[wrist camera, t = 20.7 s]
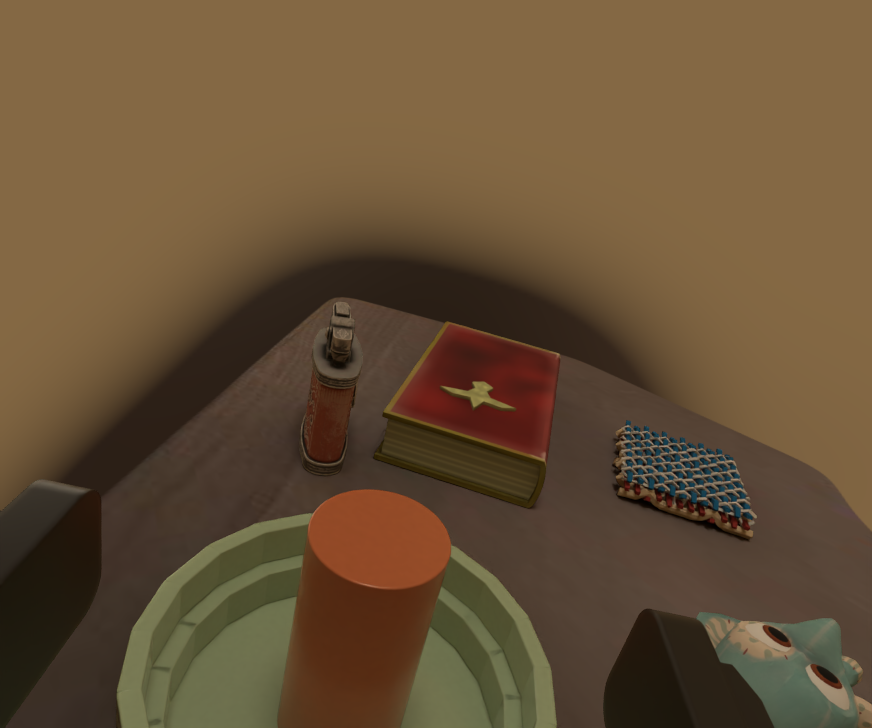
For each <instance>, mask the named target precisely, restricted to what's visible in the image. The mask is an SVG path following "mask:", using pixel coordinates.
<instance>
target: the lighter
mask: <svg viewBox="0 0 872 728" xmlns="http://www.w3.org/2000/svg"><path fill="white" fill-rule="evenodd" d="M354 329H355V319H351V313H350V307H349V306H348V304H347V303H344V302H337V303H336V304H334V306H333V312H332V316H331V320H330V325H329V327H327V328H322V329H321V330H320V331H319V333H318V334H317V336H316V338H315V341H314V345H313V351H312V368H313V371H312V378H311V384H310V391H309V398H308V404H307V411H306V414H305V416H304V418H303V422H302V427H301V432H300V439H299V443H300V455H301V459H302V463H303V466H304V468H305V469H306V470H308V471H309V472H311V473H314V474H317V475H333V474H336V473H338V472H339V471H340V470H341V467H342V464H343V461H344V458H345V453H346V448H347V438H348V433H347V427H348V421H349V416H350V410H351V408H353V407H354V404H355V398H356V393H357V385H358V379H359V376H360V372H361V367H362V356H363V353H362V350H361V346H360V343H359V341H358V339H357V337H356V335H355V334H354Z"/></svg>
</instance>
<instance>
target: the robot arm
mask: <svg viewBox="0 0 872 728" xmlns="http://www.w3.org/2000/svg"><path fill="white" fill-rule="evenodd" d="M100 577H101V497H100V495H99V493H98V492H97V491H95V490H92V489H86V488H82V487H77V486H72V485H68V484H63V483H58V482H54V481H49V480H44V479H41V480H37V481H35V482H33V483H32V484H31V485H29V486H28V487H27V488H26V489H25V490H24V491H23V492H22V493H21V494H20V495H18V496H17V497H16V498H15V499H14V500H13V501H12V502H11V503H10V504H9V505H8V506H6V507H5V508H4V509H3V510H2V511H0V728H5V726H6V725H7V724H8V722H9V721H10V720H11V718H12V717H13V715H14V714H15V713H16V711H17V710H18V708H19V707H20V706H21V704H22V703H23V701H24V700H25V699H26V697H27V696H28V694H29V693H30V692H31V690H32V689H33V687H34V686H35V685H36V683H37V682H38V680H39V679H40V678H41V676H42V675H43V674H44V672H45V671H46V669H47V668H48V667H49V665H50V664H51V662H52V661H53V660H54V658H55V657H56V655H57V654H58V653H59V651H60V650H61V648H62V647H63V646H64V644H65V643H66V641H67V640H68V639H69V637H70V636H71V634H72V633H73V632H74V630H75V629H76V628H77V626H78V625H79V623H80V622H81V621H82V619H83V618H84V616H85V615H86V613H87V611H88V610H89V608H90V606H91V604H92V602H93V599H94V597H95V595H96V592H97V589H98V586H99V582H100ZM603 711H604V722H605V727H606V728H774V725H773V723H772V721H771V719H770V717H769V715H768V713H767V711H766V708H765V706H764V704H763V702H762V700H761V699H760V698H759V696H758V695H757V694H756V693H755V692H754V690H753V689H752V688H751V687H750V685H749V684H748V683H747V682H746V681H745V679H744V678H743V677H742V676H741V674H740V673H739V672H738V671H737V670H736V668H735V667H734V666H733V665H732V664H727V663H722V662H720V660H719V658H718V656H717V653H716V651H715V649H714V646H713V644H712V642H711V639H710V637H709V635H708V632H707V630H706V628H705V626H704V625H703V624H702V622H700V621H699V620H698V619H695V618H690V617H686V616H681V615H676V614H671V613H667V612H662V611H657V610H652V609H645V610H643V611H642V612H641V613H640V614H639V616H638V618H637V620H636V622H635V624H634V626H633V628H632V630H631V632H630V634H629V636H628V638H627V640H626V642H625V644H624V646H623V648H622V650H621V652H620V654H619V656H618V658H617V660H616V662H615V664H614V666H613V668H612V670H611V672H610V674H609V677H608V679H607V682H606V687H605V692H604V703H603Z"/></svg>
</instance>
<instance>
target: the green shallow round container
mask: <svg viewBox="0 0 872 728" xmlns="http://www.w3.org/2000/svg"><path fill="white" fill-rule="evenodd" d="M312 515H313V513H310V514H309V513H307V514H302V515H296V516H291V517H286V518H281V519H276V520H270V521H265V522H260V523H256V524H254V525H252V526H250V527H247V528H245V529H243V530H241V531H238V532H236V533H234V534H232V535H229V536H227V537H225V538H223V539H220V540H218V541H216V542H214V543H211V544H210V545H209V546H207V547H205V548H204V549H203V550H202V551H201V552H199V553H198V554H197V555H196V556H194V557H193V558H192V559H191V560H189V561H188V562H187V563H186V564H184V565H183V566H182V567H181V568H180V569H178V570H177V571H176V572H175V573H173V574H172V575H171V576H170V577H168V578H167V579H166V581H164V582H163V584H162V585H161V587H160V588H159V590H158V591H157V593H156V594H155V596H154V597H153V599H152V600H151V602H150V603H149V605H148V606H147V608H146V609H145V611H144V612H143V614H142V615H141V617H140V618H139V620H138V621H137V623H136V624H135V626H134V627H133V629H132V632H131V634H130V638H129V642H128V646H127V650H126V654H125V658H124V663H123V667H122V671H121V675H120V679H119V683H118V687H117V691H116V728H278V725H277V714H278V708H279V701H280V695H281V689H282V683H283V677H284V671H285V665H286V659H287V652H288V646H289V640H290V634H291V628H292V622H293V616H294V610H295V604H296V597H297V591H298V585H299V579H300V573H301V567H302V561H303V555H304V548H305V542H306V536H307V530H308V525H309V521H310V519H311V516H312ZM556 726H557V722H556V712H555V702H554V692H553V682H552V672H551V668H550V665H549V662H548V660H547V658H546V656H545V653H544V651H543V649H542V646H541V644H540V642H539V640H538V637H537V635H536V633H535V631H534V628H533V626H532V624H531V621H530V619H529V617H528V616H527V614H526V613H525V612H524V611H523V609H522V608H521V607H520V606H519V605H518V603H517V602H516V601H515V600H514V598H513V597H512V596H511V595H510V594H509V592H508V591H507V590H506V589H505V587H504V586H503V585H502V584H501V583H500V581H499V580H498V579H497V578H495V576H494V575H492V574H491V573H490V572H488V571H487V570H486V569H485V568H483V567H482V566H481V565H479V564H478V563H477V562H475V561H474V560H473V559H471V558H470V557H469V556H467V555H466V554H465V553H463V552H462V551H461V550H459V549H458V548H457V547H454V546H453V545H451V555H450V559H449V562H448V566H447V569H446V573H445V576H444V580H443V583H442V587H441V590H440V593H439V597H438V600H437V604H436V607H435V611H434V614H433V618H432V621H431V625H430V628H429V631H428V635H427V638H426V642H425V645H424V649H423V652H422V656H421V659H420V663H419V666H418V670H417V673H416V676H415V680H414V683H413V687H412V690H411V694H410V697H409V701H408V704H407V708H406V711H405V715H404V718H403V721H402V725H401V728H556Z"/></svg>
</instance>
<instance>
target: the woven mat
mask: <svg viewBox="0 0 872 728" xmlns="http://www.w3.org/2000/svg"><path fill="white" fill-rule="evenodd" d="M630 424H631V421H627V420H626V426H625V427H622V429H620V430H618V431H616V434H617V436H618V438H621V439H622V440H623V441H619V442H618V443H616V446H617V448H618V451H620V452H619V458H617V457H616V458H615V459H614V462H613V464H614V465H616V466H617V468H618V469H619V470H622V471H621V473H619V475H618V476H616V480H617V482H618V484H619V485H620V486H622V487H623V488H620V487H619V489H618V493H617V495H619V496H623V497H627V498H630V499H634V500H636V499H640V498H643V500H645V501H648V502H651V503H652V504H653V505H654V506H656V507H657V508H658V509H660V510H663V511H666V512H669V513H672V514H675V515H678V516H681V517H684V518H687V519H690V520H698V521H702V520H706V519H707V522H709V523H712V524H713V523H715V524H716V525H717V526H718V527H719V528H721V529H722V530H723V531H726V532H729V533H732V534H735V535H738V536H741V537H744V538H747V539H751V538H752V537H753V531H751V530H749V529H750V525H752V524H754V523H755V522H754V521H752V518H753V517H754V518H755V519H756V517H757V516H756V515H755V514H754V513H753V512H752V510H751V509H750V505H751V504H750V503H749V502H748V501H747V500H750V497H746V494H747V493H746V492H745V489H744V488H743V487H744V484H743V483H742V482H741V478H740V474H739V473H738V471H737V468H736V464H735V461H733V457H730V456H729V455H725V456H723V455H722V450H720V449H717V450H716V452H717V455H716V456H714V454H715V453H714V452H713V451H711V450H710V449H707V450H706V451H705V450H704V449H703V448H704V445H703V444H701V443H699V444H698V447H699V449H696V447H695V446H694V445H693V444H691V443H688V444H687V445H686V444H685V438H682V437H680V443H679V444H677V440H675V439H674V438H672V437H671V438H670V439H669V440H668V439H667V433H666V432H663V431H662V437H660V438H659V434H657V433H656V432H652V433H651V434H652V435H651V434H650V433H649V427H647V426H644V432H640V428H639V427H637V426H635V427H634V429H632V428H631V427H630ZM631 431H632V432H631ZM639 435H640V436H639ZM640 439H641V440H640ZM739 483H740V484H739ZM653 489H655V490H653ZM737 523H739V524H740V526H741V527H740V526H737Z"/></svg>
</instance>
